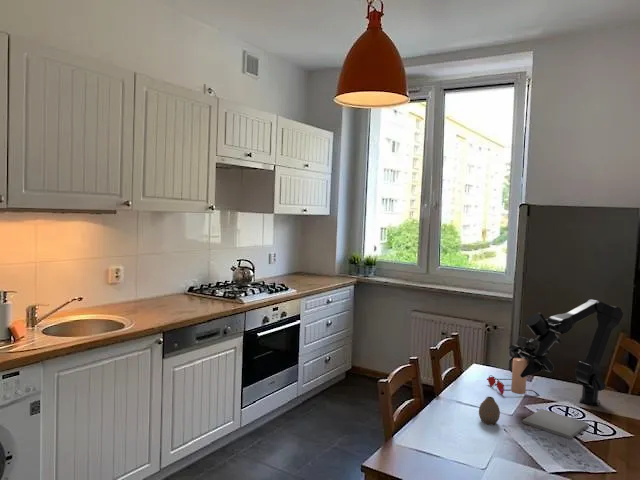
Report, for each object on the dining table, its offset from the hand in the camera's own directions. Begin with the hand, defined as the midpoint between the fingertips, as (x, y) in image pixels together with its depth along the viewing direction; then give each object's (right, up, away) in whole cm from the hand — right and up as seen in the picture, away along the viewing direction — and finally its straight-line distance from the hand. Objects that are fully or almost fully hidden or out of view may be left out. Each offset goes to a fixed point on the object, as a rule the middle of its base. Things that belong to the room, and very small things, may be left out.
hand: (516, 374), depth 189 cm
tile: (+9, -14, -11) cm, 20 cm away
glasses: (+7, -13, +23) cm, 28 cm away
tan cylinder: (+1, -7, +1) cm, 7 cm away
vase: (-14, -14, -12) cm, 23 cm away
